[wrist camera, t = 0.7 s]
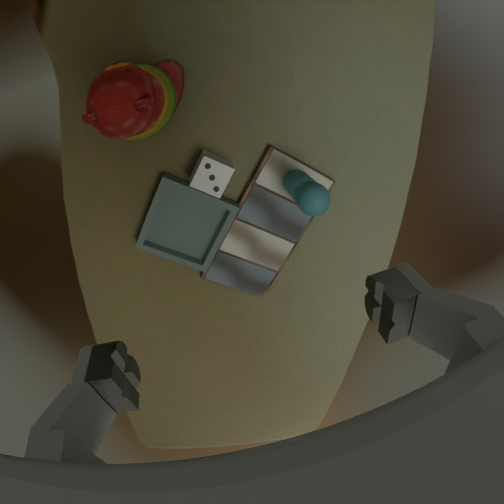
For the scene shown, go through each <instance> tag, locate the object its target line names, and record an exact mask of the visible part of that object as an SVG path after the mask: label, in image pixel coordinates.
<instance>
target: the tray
mask: <svg viewBox="0 0 504 504" xmlns="http://www.w3.org/2000/svg"><path fill="white" fill-rule="evenodd" d="M239 209H240V207H239V205H238V202H236V201H233V200H231V199H229V198H226V197H224V196H221V198H220V199H219V198H217V197H215V196H212V195H210V194H207V193H205V192H203V191H200V190H198V189H195V188H193V187H190V182H188V181H185V180H183V179H180V178H178V177H175V176H173V175H170V174H168V173H165V172H164V174H163V176H162V179H161V181H160V183H159V186H158V188H157V190H156V193H155V195H154V198H153V200H152V203H151V205H150V208H149V210H148V213H147V216H146V218H145V221H144V223H143V226H142V229H141V231H140V234H139V237H138V240H137V243H136V246H135V248H137V249H140V250H143V251H146V252H148V253H151V254H154V255H157V256H160V257H162V258H165V259H168V260H171V261H174V262H177V263H180V264H182V265H185V266H188V267H191V268H194V269H197V270H200V271H203V272H206V271H207V270H208V268H209V266H210V264H211V262H212V260H213V258H214V256H215V254H216V252H217V250H218V248H219V246H220V245H221V243H222V241H223V239H224V237H225V235H226V233H227V231H228V229H229V228H230V226H231V224H232V222H233V220H234V218H235V216H236V214H237V213H238V211H239Z"/></svg>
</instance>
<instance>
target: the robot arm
mask: <svg viewBox="0 0 504 504" xmlns="http://www.w3.org/2000/svg"><path fill="white" fill-rule="evenodd" d="M365 286H366V288H367V289H368V290H369V291H368V292H367V294H366V295H365V308H366V312H367V314H368V317H369V318H370V320H371V321H372V322H373V323H375V324H378V325H379V329H378V332H379V333H380V335H381V336H382V337H383V339H384V340H385V342H386V343H387V344H390V343H393V342H395V341H398V340H400V339H402V338H405V337H408V336H409V338H411V339H413V340H414V341H416V342H418V343H420V344H422V345H424V346H425V347H427V348H429V349H431V350H433V351H435V352H436V353H438V354H440V355H442V356H444V357H446V358H447V359H449V360H450V362H449V364H448V367H447V369H446V372H445V374H444V375H443V376H441V377H439V378H437V379H435V380H434V381H432V382H430V383H428V384H426V385H424V386H422V387H420V388H418V389H416V390H414V391H412V392H410V393H408V394H406V395H404V396H402V397H400V398H398V399H395V400H393V401H391V402H389V403H387V404H384V405H382V406H380V407H377V408H375V409H373V410H371V411H368V412H366V413H363V414H361V415H358V416H355V417H353V418H350V419H347V420H345V421H342V422H339V423H337V424H334V425H331V426H328V427H325V428H322V429H319V430H316V431H313V432H309V433H306V434H303V435H299V436H296V437H293V438H289V439H285V440H282V441H278V442H274V443H270V444H266V445H262V446H258V447H253V448H249V449H244V450H240V451H234V452H229V453H223V454H218V455H212V456H206V457H199V458H191V459H183V460H174V461H164V462H151V463H133V464H106V463H105V462H104V461H103V460H101V459H100V458H98V457H97V456H96V455H94V454H95V452H96V450H97V449H98V447H99V445H100V443H101V442H102V440H103V438H104V436H105V435H106V433H107V431H108V429H109V427H110V426H111V424H112V422H113V421H114V419H115V417H116V416H117V413H120V412H128V411H135V410H139V395H140V394H139V392H138V391H137V390H136V388H137V387H138V385H139V384H140V378H141V375H140V370H139V366H138V364H137V362H136V360H135V359H134V357H132V356H131V355H129V354H127V349H128V348H127V347H126V345H125V344H124V342H123V341H115V342H108V343H102V344H96V345H92V346H85V347H83V348H81V349H80V353H79V356H78V360H77V364H76V367H75V371H74V375H73V379H72V383H71V384H68V385H67V386H66V387H65V388H64V389H63V390H62V391H61V392H60V394H59V395H58V396H57V397H56V398H55V399H54V401H53V402H52V403H51V404H50V405H49V407H48V408H47V409H46V410H45V411H44V413H43V414H42V415H41V416H40V417H39V418H38V420H37V421H36V422H35V423H34V425H33V426H32V427H31V429H30V434H29V438H28V443H27V448H26V453H25V458H22V457H15V456H10V455H5V454H0V504H504V317H503V316H502V315H501V314H500V313H499V312H498V311H497V310H496V309H495V308H494V307H493V306H491V305H488V304H485V303H482V302H479V301H476V300H473V299H470V298H467V297H464V296H461V295H458V294H455V293H452V292H449V291H446V290H443V289H439V288H435V289H433V288H432V287H431V286H430V285H429V284H428V283H427V282H426V281H425V280H424V279H423V278H422V277H421V276H420V275H419V274H418V273H417V272H416V271H415V270H414V269H413V268H412V267H411V266H410V265H409V264H407V263H403V264H400V265H397V266H395V267H393V268H390V269H387V270H384V271H381V272H378V273H375V274H372V275H369V276H367V278H366V284H365Z"/></svg>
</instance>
